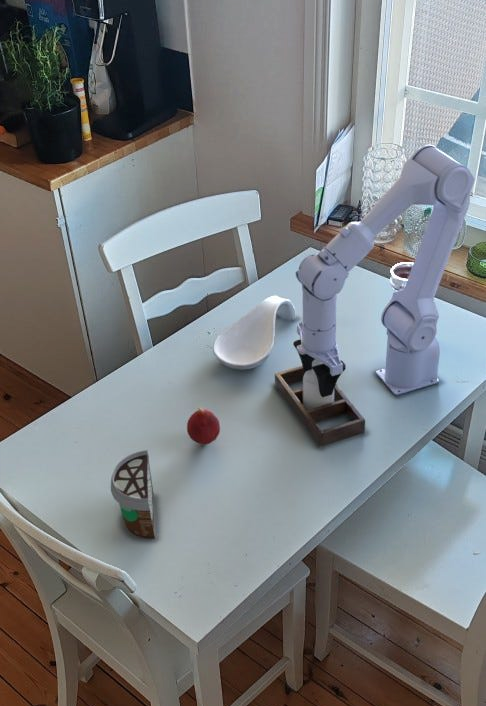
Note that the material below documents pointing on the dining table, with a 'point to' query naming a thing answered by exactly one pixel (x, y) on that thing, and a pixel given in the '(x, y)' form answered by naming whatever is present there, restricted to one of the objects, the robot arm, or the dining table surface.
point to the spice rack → (320, 410)
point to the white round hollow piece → (400, 275)
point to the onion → (203, 426)
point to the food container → (135, 494)
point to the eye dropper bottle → (313, 390)
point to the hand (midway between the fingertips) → (318, 384)
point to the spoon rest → (252, 335)
